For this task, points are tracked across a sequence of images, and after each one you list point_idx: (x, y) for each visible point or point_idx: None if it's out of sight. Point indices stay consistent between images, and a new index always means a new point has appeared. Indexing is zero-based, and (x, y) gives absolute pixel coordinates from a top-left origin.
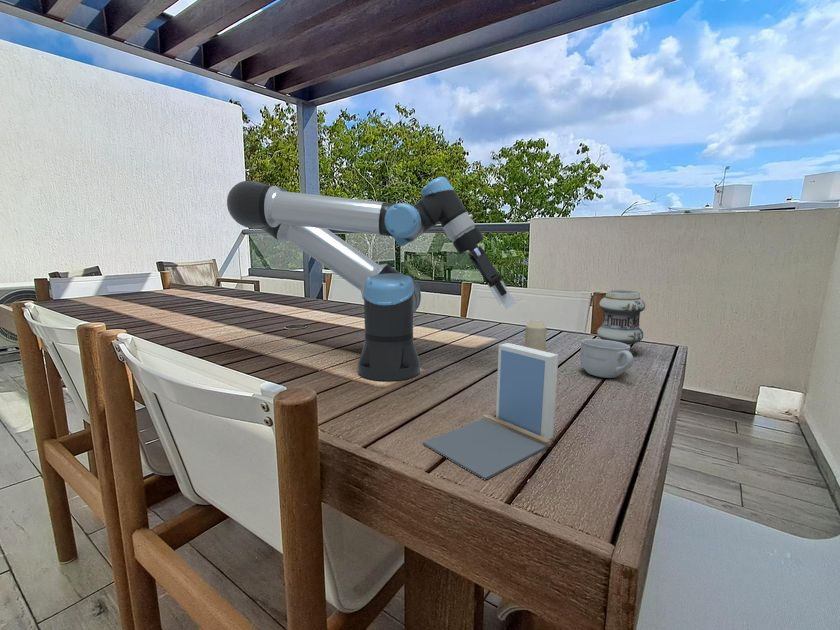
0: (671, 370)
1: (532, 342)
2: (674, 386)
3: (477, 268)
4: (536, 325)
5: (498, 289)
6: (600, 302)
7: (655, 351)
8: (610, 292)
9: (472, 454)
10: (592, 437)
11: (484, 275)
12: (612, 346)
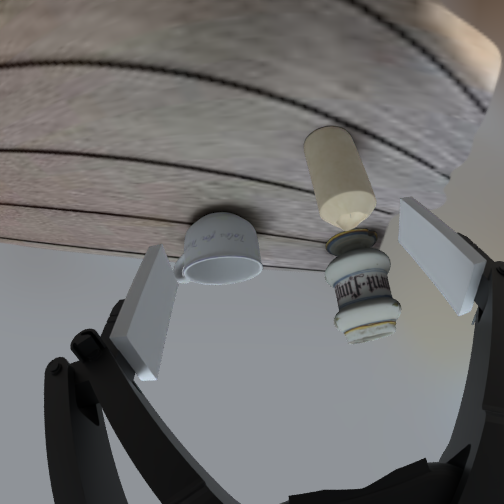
0: (265, 267)
1: (314, 170)
2: None
3: (482, 419)
4: (328, 215)
5: (106, 329)
6: (381, 309)
7: None
8: (368, 334)
9: None
10: (4, 218)
11: (488, 332)
12: (252, 267)
